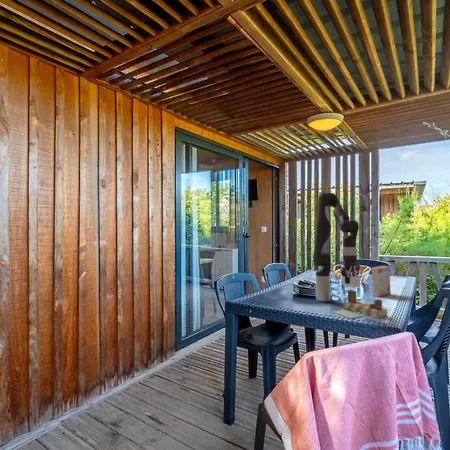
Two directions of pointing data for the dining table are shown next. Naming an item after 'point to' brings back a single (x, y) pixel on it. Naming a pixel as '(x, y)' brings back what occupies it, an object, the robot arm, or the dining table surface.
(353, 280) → the beige rectangular block
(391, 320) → the dining table surface
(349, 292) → the plane body
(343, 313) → the mat
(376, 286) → the cracker box
